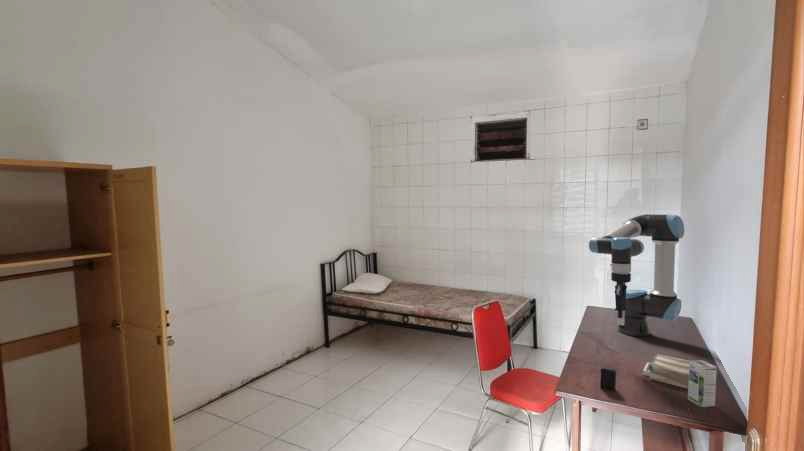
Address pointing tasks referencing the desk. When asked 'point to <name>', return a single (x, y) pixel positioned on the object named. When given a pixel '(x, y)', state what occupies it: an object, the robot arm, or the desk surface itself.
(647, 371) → the white tray
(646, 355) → the desk surface
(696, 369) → the syrup box
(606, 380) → the ink cartridge
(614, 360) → the desk surface
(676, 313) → the robot arm
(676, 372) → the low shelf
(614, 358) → the desk surface
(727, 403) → the desk surface
